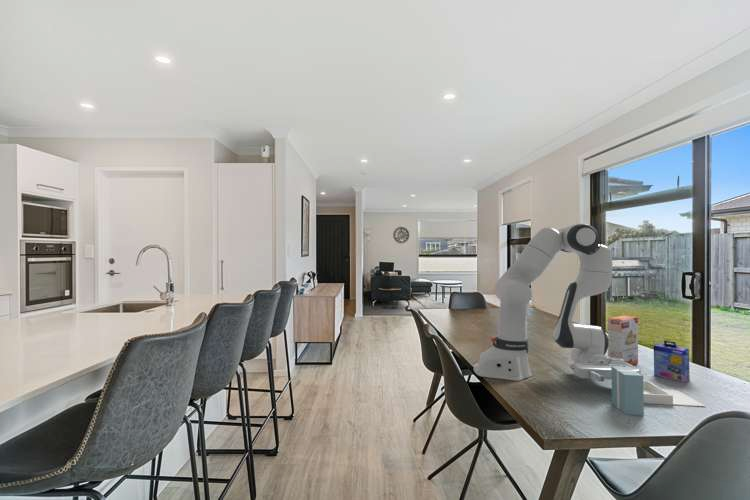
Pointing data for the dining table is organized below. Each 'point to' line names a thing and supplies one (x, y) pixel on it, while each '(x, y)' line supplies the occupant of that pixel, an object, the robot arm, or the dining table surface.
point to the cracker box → (623, 338)
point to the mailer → (666, 396)
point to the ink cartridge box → (671, 361)
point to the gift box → (627, 390)
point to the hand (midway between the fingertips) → (617, 379)
